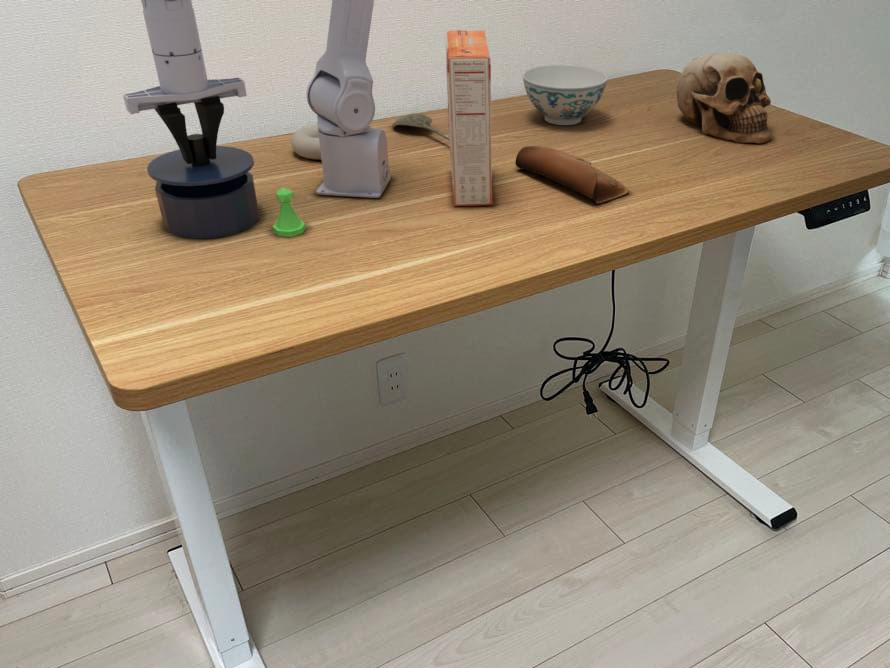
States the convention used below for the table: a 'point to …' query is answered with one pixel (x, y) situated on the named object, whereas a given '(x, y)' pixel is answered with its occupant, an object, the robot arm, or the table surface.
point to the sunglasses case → (570, 172)
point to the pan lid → (200, 165)
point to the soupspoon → (418, 123)
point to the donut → (307, 142)
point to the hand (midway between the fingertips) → (200, 159)
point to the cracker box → (469, 116)
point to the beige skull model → (725, 97)
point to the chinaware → (564, 91)
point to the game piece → (287, 216)
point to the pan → (209, 208)
